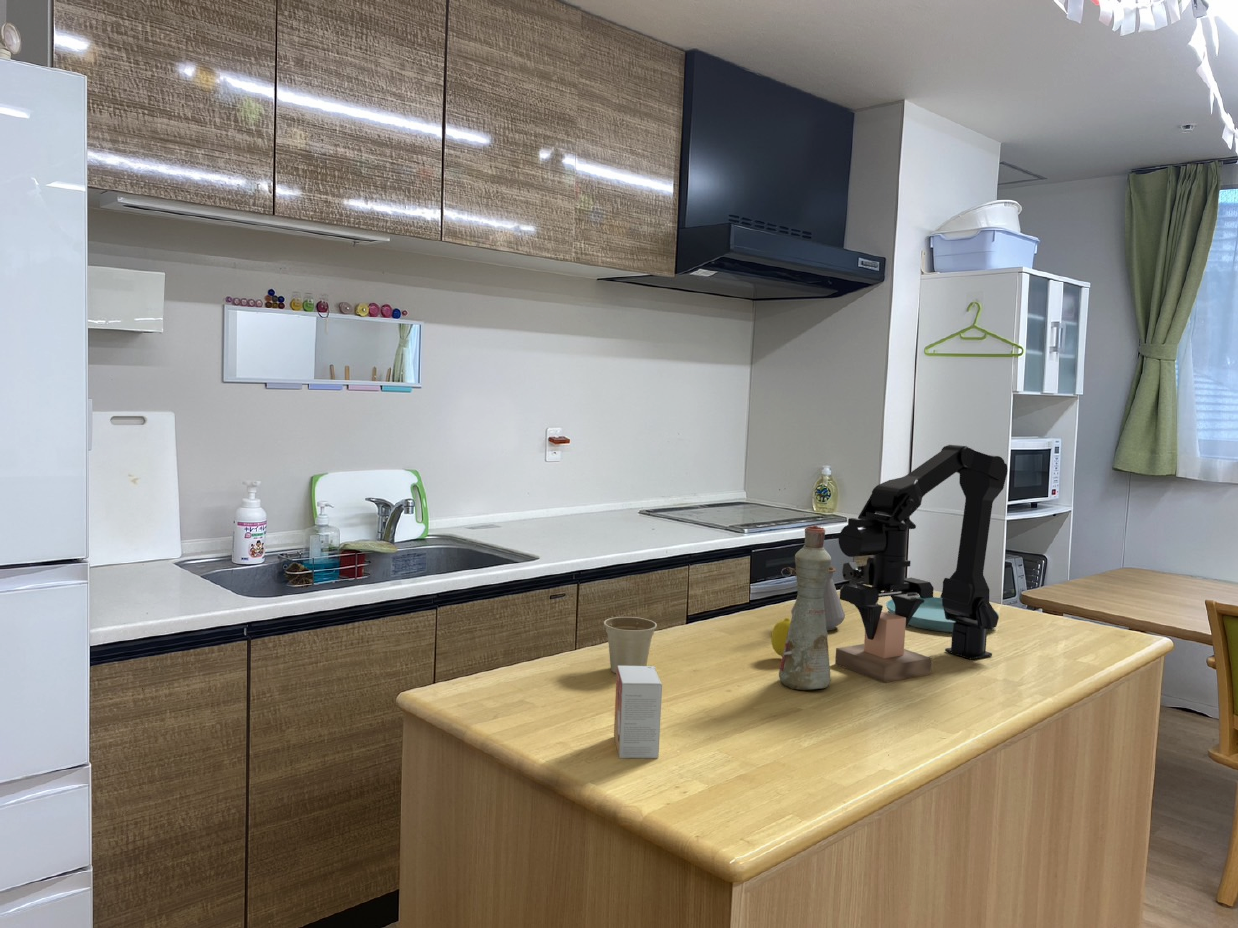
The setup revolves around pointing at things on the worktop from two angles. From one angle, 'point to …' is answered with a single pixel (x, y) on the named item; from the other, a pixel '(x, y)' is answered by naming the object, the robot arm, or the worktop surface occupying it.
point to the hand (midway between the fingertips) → (884, 637)
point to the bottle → (808, 619)
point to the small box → (637, 712)
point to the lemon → (780, 635)
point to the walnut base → (883, 664)
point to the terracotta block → (887, 637)
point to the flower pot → (629, 641)
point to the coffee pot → (828, 601)
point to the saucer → (928, 615)
